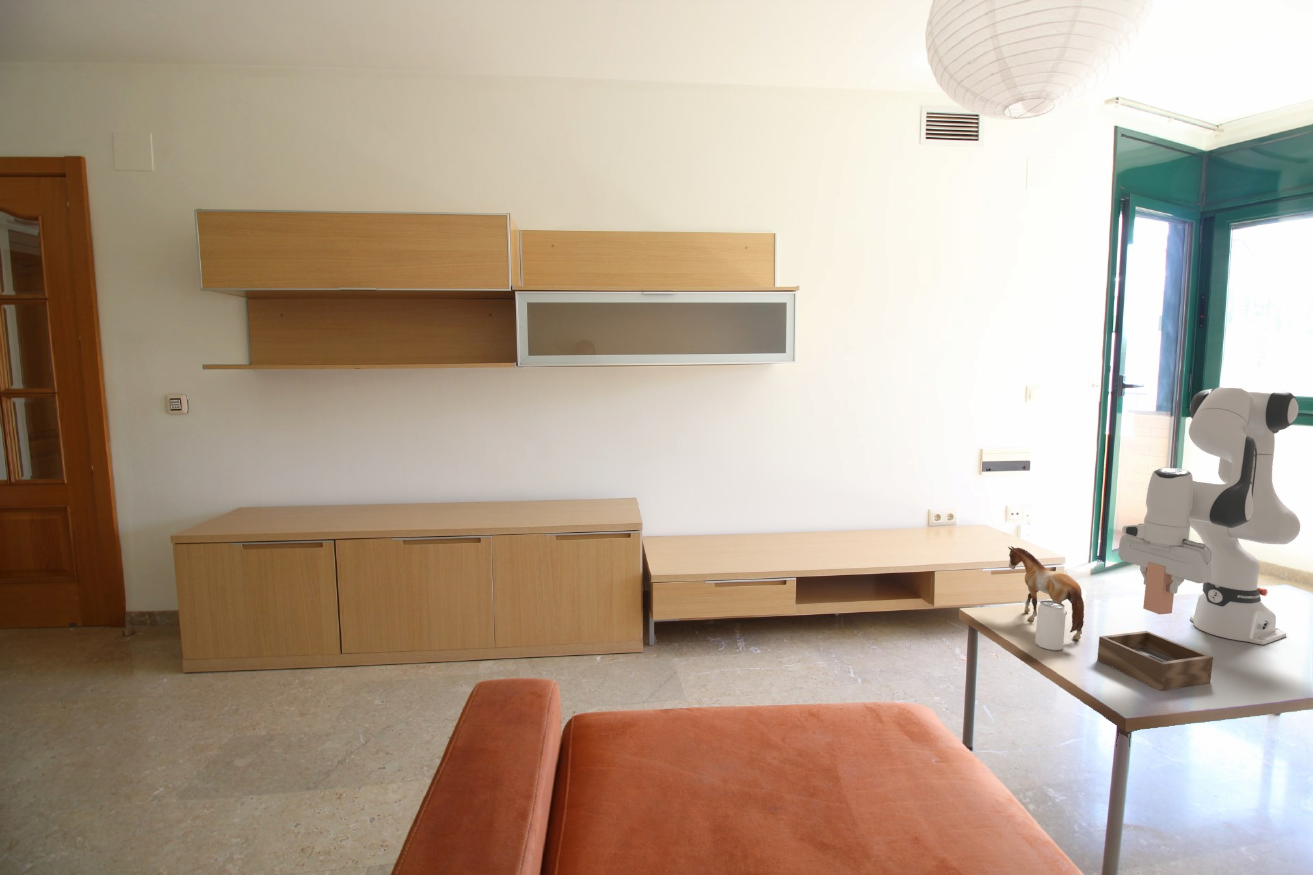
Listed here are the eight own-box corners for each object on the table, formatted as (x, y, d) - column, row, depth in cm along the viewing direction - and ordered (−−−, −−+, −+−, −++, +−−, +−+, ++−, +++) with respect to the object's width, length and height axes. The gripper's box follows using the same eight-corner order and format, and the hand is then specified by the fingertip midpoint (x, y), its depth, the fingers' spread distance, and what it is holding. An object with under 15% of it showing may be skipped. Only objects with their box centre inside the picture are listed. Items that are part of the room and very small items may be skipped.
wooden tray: (1144, 654, 168) (1146, 630, 167) (1210, 682, 153) (1213, 657, 152) (1097, 660, 164) (1099, 636, 163) (1160, 690, 149) (1163, 664, 148)
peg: (1155, 607, 159) (1160, 561, 158) (1171, 613, 155) (1176, 565, 154) (1143, 608, 158) (1148, 561, 157) (1159, 614, 154) (1164, 566, 153)
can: (1067, 652, 168) (1070, 609, 167) (1040, 649, 170) (1044, 607, 168) (1057, 642, 175) (1060, 600, 174) (1031, 640, 176) (1034, 598, 175)
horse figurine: (1001, 607, 200) (1006, 544, 198) (1024, 607, 201) (1029, 544, 199) (1073, 650, 170) (1080, 576, 167) (1100, 650, 170) (1107, 576, 168)
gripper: (1222, 545, 145) (1215, 602, 147) (1134, 524, 165) (1129, 575, 167) (1202, 546, 144) (1195, 605, 145) (1116, 525, 164) (1111, 576, 165)
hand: (1159, 588), depth 156 cm, fingers closed on peg, 4 cm apart
